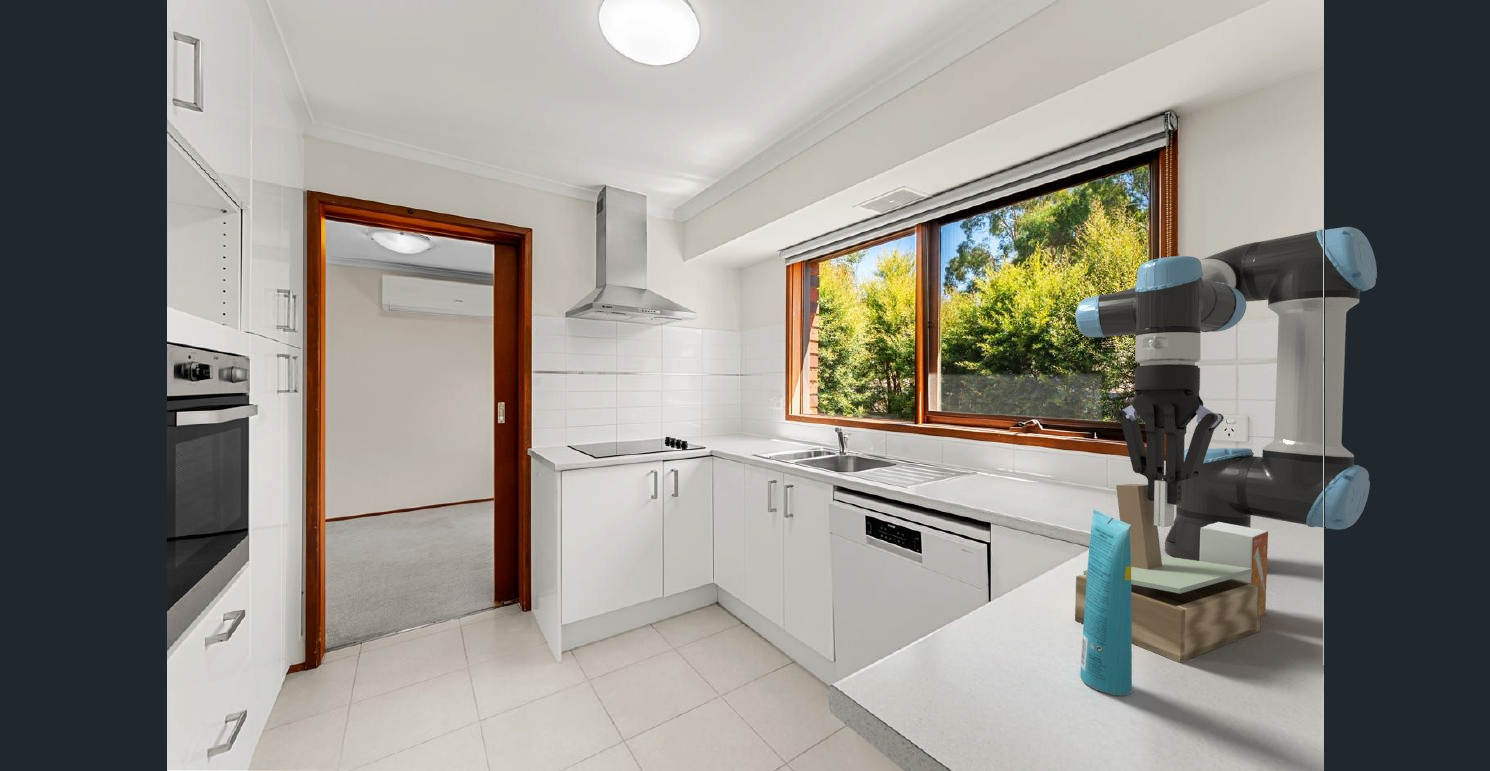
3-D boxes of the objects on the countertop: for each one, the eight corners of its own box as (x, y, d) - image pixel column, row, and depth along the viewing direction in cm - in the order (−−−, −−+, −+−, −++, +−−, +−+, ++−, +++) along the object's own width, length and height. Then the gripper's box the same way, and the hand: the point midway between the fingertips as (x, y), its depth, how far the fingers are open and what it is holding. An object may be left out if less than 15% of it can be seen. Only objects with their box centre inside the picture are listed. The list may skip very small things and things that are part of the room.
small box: (1251, 625, 78) (1253, 536, 78) (1196, 609, 83) (1198, 526, 83) (1267, 613, 82) (1269, 530, 82) (1214, 599, 88) (1216, 520, 88)
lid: (1157, 558, 87) (1147, 480, 88) (1252, 572, 76) (1239, 483, 78) (1083, 575, 78) (1074, 487, 79) (1180, 593, 67) (1167, 492, 69)
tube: (1150, 704, 57) (1155, 525, 57) (1104, 702, 57) (1109, 523, 57) (1105, 667, 64) (1109, 509, 64) (1064, 666, 64) (1069, 508, 64)
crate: (1156, 597, 88) (1157, 558, 88) (1259, 630, 76) (1260, 585, 76) (1074, 620, 78) (1076, 576, 78) (1180, 662, 66) (1181, 610, 66)
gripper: (1105, 364, 82) (1102, 517, 81) (1208, 361, 70) (1205, 539, 70) (1132, 367, 85) (1129, 514, 85) (1234, 364, 74) (1231, 533, 73)
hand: (1163, 525), depth 77 cm, fingers closed
